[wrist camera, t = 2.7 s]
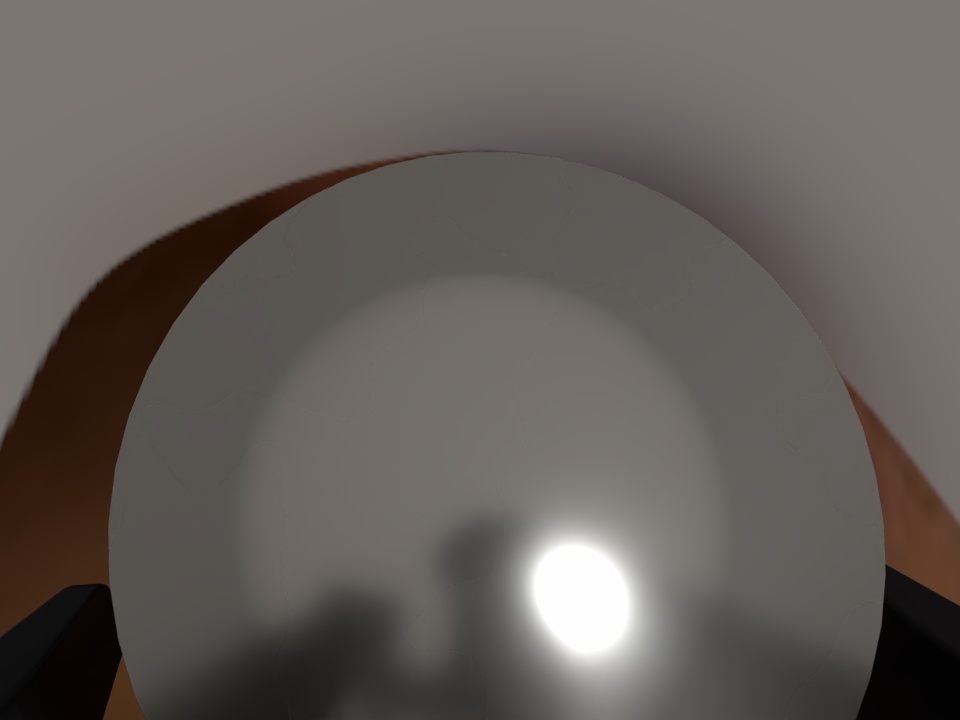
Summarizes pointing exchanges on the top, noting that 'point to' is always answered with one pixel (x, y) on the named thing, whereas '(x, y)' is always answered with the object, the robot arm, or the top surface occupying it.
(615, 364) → the tin
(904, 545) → the top surface
